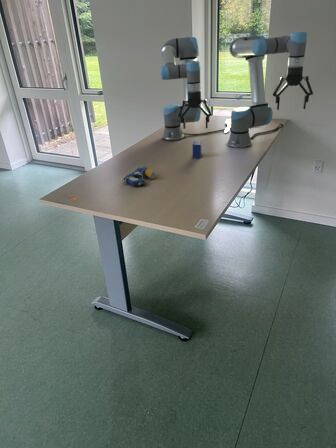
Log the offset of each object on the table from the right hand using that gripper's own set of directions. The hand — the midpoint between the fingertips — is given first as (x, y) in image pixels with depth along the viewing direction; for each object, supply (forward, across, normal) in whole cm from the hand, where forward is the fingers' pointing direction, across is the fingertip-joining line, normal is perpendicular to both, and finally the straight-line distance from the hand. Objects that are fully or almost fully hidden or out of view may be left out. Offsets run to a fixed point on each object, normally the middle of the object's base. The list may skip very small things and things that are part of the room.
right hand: (290, 109), depth 182 cm
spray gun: (+28, -80, -32) cm, 91 cm away
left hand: (+10, -53, +4) cm, 54 cm away
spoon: (+28, -35, +70) cm, 83 cm away
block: (+28, -53, +4) cm, 60 cm away
